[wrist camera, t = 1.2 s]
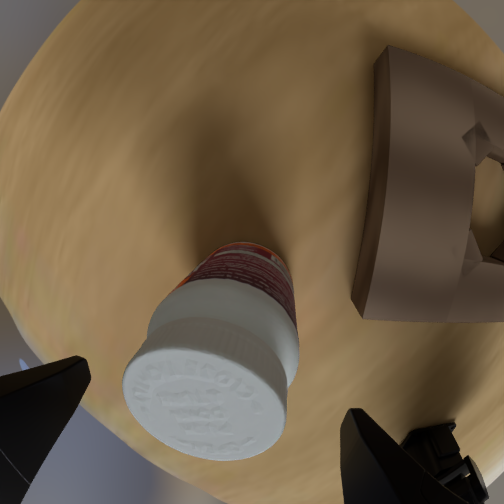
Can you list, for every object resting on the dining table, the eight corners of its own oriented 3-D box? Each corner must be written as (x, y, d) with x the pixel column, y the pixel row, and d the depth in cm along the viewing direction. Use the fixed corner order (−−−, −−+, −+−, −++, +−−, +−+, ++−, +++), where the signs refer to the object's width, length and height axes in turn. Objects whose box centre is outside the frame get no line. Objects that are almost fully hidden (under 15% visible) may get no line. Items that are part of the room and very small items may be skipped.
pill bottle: (202, 234, 17) (90, 303, 6) (300, 246, 17) (328, 347, 6) (197, 321, 19) (123, 441, 8) (285, 334, 18) (282, 477, 7)
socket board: (524, 308, 16) (541, 319, 13) (350, 299, 17) (362, 319, 14) (545, 145, 12) (564, 145, 9) (373, 64, 14) (387, 44, 11)
